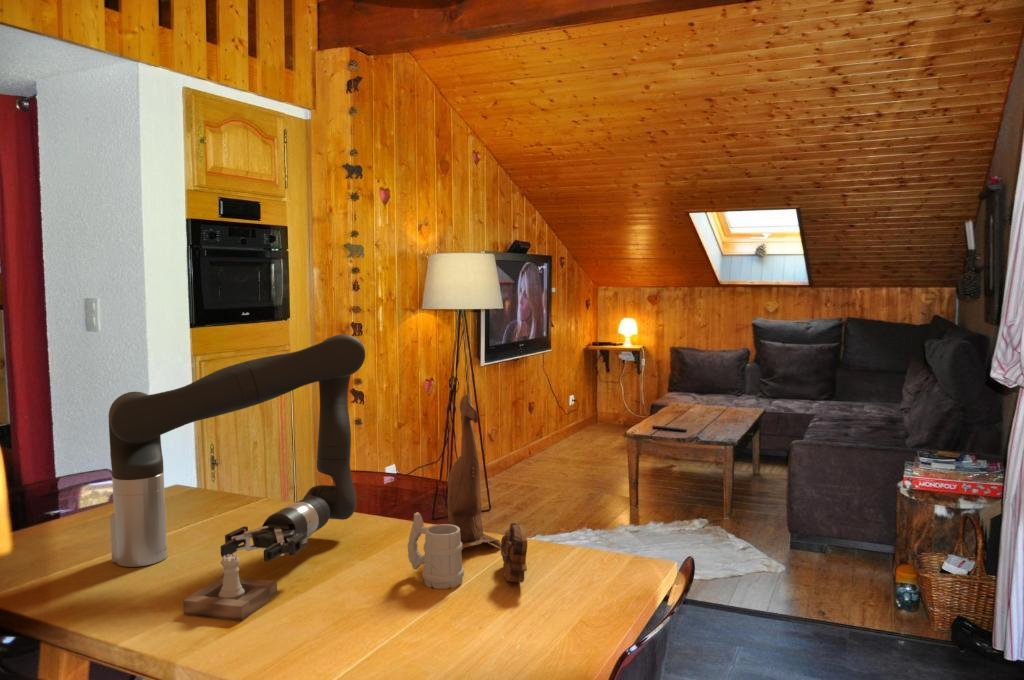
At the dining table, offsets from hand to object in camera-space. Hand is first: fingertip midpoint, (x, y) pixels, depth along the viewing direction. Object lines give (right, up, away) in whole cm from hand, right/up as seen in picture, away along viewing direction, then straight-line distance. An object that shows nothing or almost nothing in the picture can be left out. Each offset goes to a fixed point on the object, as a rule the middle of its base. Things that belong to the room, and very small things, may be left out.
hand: (244, 554), depth 143 cm
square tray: (-1, -8, -3) cm, 9 cm away
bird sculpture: (+37, -5, +25) cm, 45 cm away
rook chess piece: (-1, -7, -3) cm, 8 cm away
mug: (+33, -7, +7) cm, 34 cm away
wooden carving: (+47, -7, +8) cm, 48 cm away
